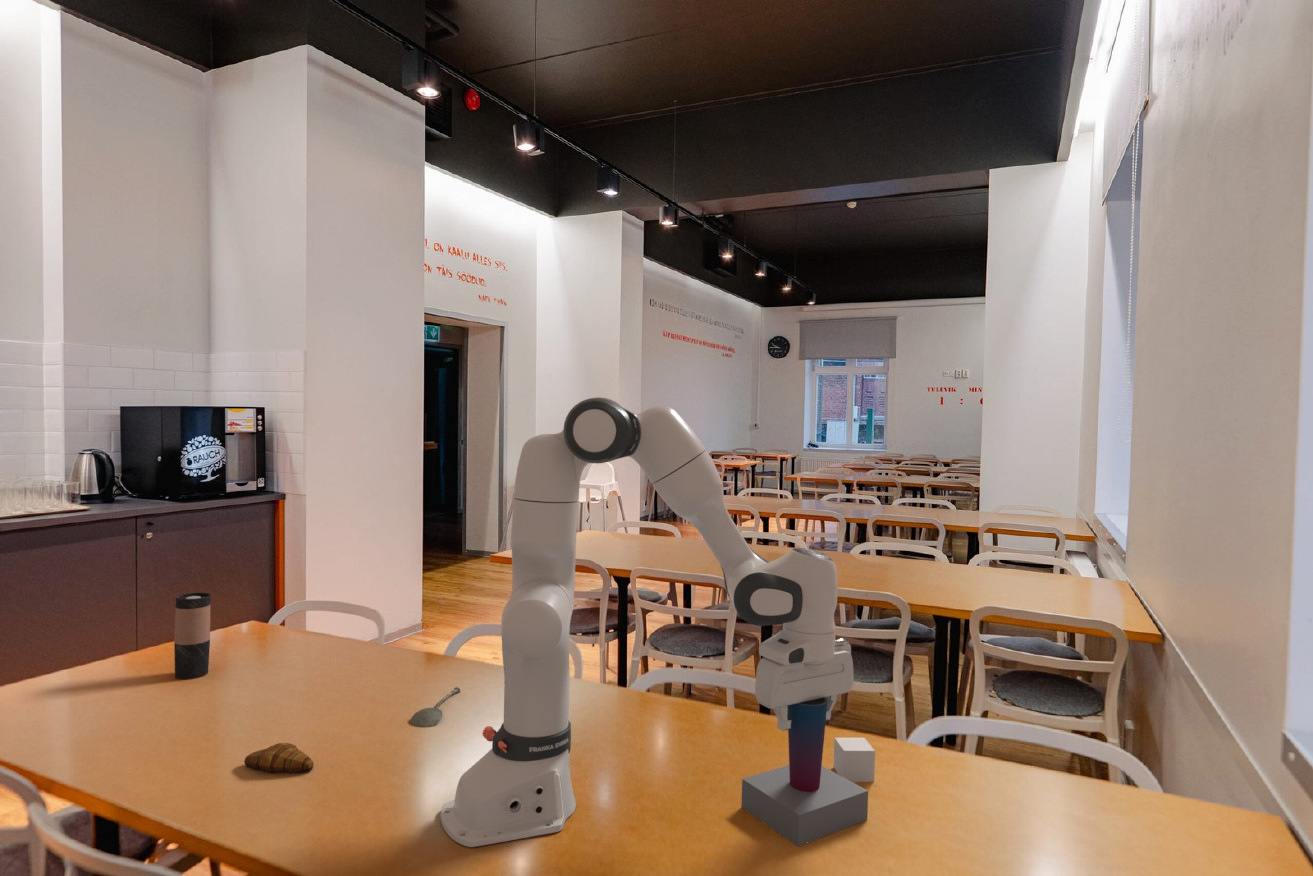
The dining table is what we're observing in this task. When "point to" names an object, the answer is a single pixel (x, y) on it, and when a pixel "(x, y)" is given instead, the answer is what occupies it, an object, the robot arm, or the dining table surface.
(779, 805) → the plinth
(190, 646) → the travel mug
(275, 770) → the croissant
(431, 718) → the soupspoon
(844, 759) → the white cube
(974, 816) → the dining table surface
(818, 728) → the cup
